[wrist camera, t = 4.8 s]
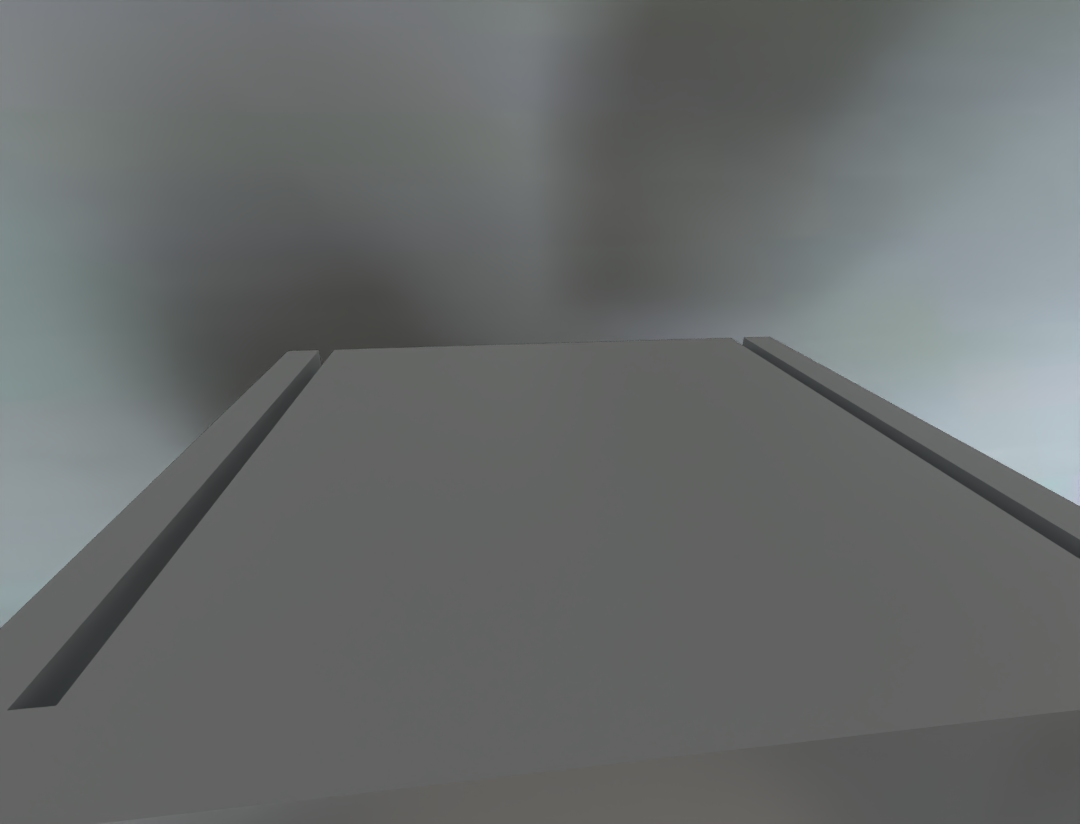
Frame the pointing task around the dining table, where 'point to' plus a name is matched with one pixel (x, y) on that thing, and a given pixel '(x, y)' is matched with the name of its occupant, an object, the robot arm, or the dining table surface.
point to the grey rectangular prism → (558, 607)
